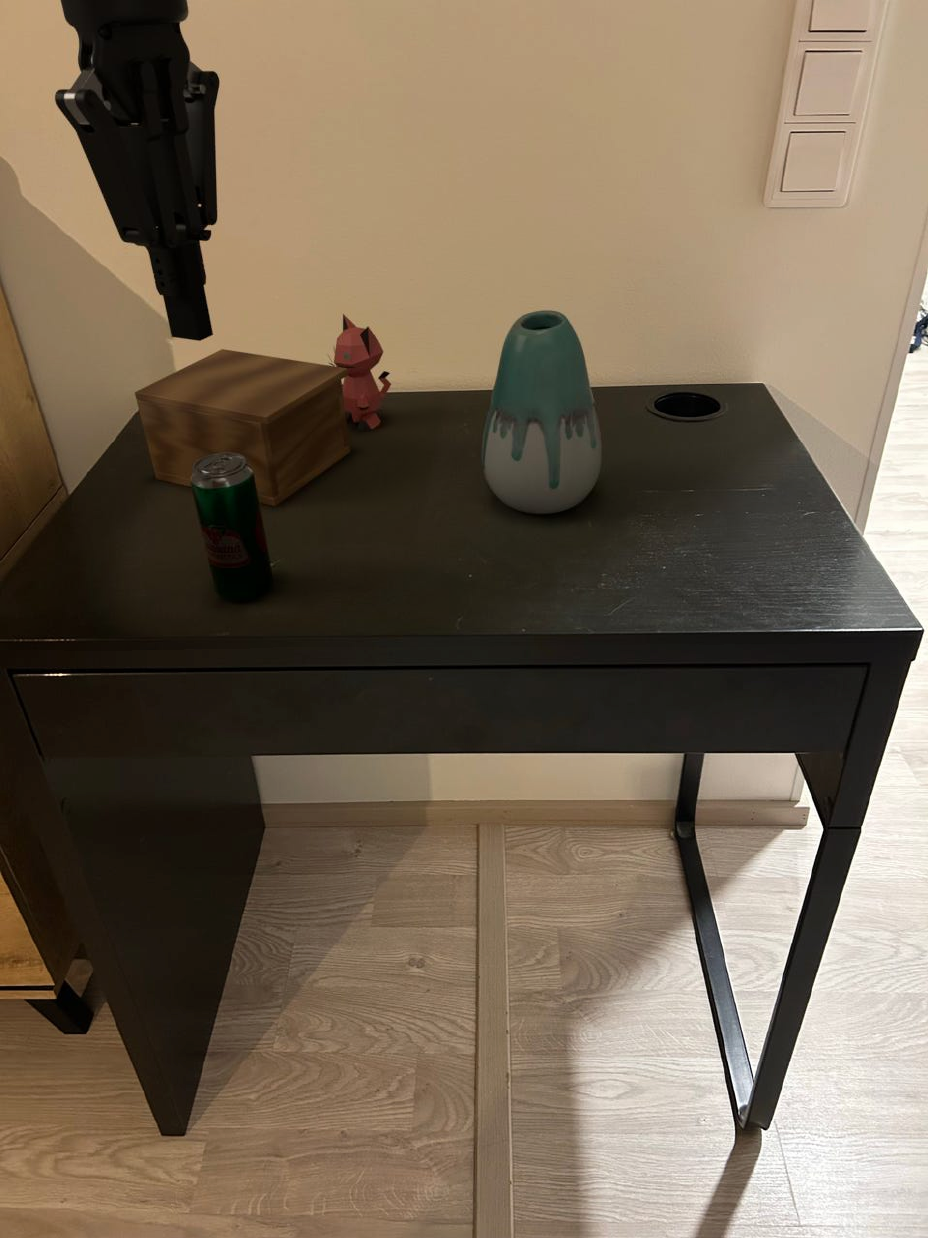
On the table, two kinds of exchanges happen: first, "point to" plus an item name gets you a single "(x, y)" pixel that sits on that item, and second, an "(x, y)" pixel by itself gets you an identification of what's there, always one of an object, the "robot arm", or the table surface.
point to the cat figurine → (360, 374)
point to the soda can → (232, 526)
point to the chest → (251, 442)
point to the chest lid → (243, 385)
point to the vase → (542, 419)
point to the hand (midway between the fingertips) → (192, 335)
